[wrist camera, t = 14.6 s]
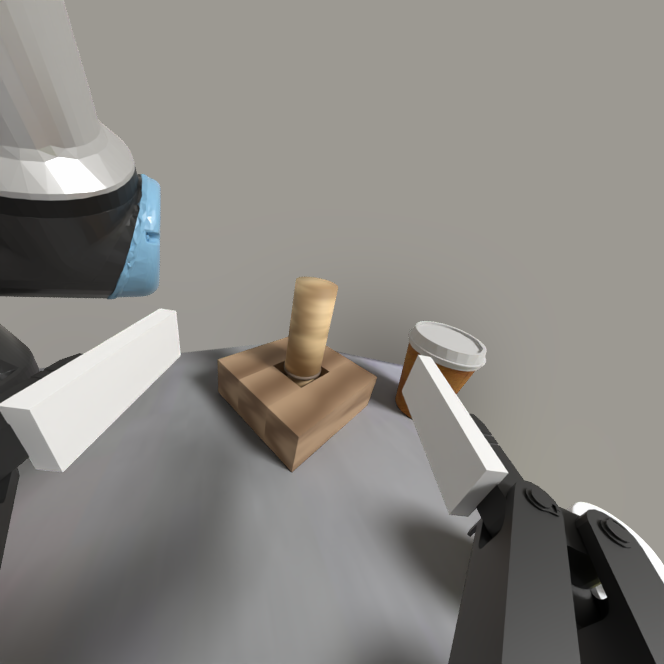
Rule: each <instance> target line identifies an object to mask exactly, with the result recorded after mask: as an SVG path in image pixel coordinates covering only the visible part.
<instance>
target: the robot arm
mask: <svg viewBox="0 0 664 664" xmlns="http://www.w3.org/2000/svg"><path fill="white" fill-rule="evenodd" d="M159 272H160V185H159V183H158V182H157V181H155V180H154V179H152V178H149V177H148V176H146V175H144V174H137V173H136V168H135V163H134V160H133V157H132V154H131V152H130V150H129V148H128V147H127V145H126V144H125V143H124V142H123V141H122V140H121V139H120V138H119V137H118V136H117V135H116V134H115V133H113V132H112V131H111V130H110V129H108V128H107V127H106V126H105V125H103V124H102V123H101V122H100V121H99V120H98V117H97V113H96V110H95V106H94V103H93V99H92V96H91V93H90V89H89V86H88V82H87V79H86V76H85V72H84V68H83V65H82V62H81V58H80V55H79V51H78V48H77V44H76V41H75V37H74V34H73V30H72V27H71V23H70V20H69V17H68V13H67V9H66V6H65V3H64V0H0V296H14V297H64V298H67V297H68V298H107V299H115V298H117V297H139V296H147V295H150V294H152V293H153V292H155V291H156V290H157V288H158V286H159ZM180 356H181V352H180V343H179V333H178V324H177V315H176V311H172V310H166V309H159V310H157V311H155V312H153V313H152V314H150V315H148V316H147V317H145V318H143V319H142V320H140V321H138V322H137V323H135V324H133V325H132V326H130V327H128V328H126V329H125V330H123V331H121V332H120V333H118V334H116V335H115V336H113V337H111V338H110V339H108V340H106V341H105V342H103V343H101V344H99V345H98V346H96V347H95V348H93V349H91V350H89V351H88V352H86V353H84V354H80V353H79V354H76V355H73V356H70V357H67V358H65V359H62V360H59V361H58V362H56V363H54V364H52V365H51V366H49V367H47V368H45V369H44V371H40V372H39V368H38V365H37V363H36V361H35V359H34V356H33V354H32V352H31V351H30V349H29V348H28V347H27V346H26V345H25V344H23V343H22V342H21V341H20V340H19V339H17V338H16V337H15V336H14V335H13V334H12V333H10V332H9V331H8V330H7V329H6V328H4V327H3V326H2V325H1V324H0V568H1V563H2V558H3V553H4V548H5V543H6V539H7V534H8V529H9V524H10V519H11V514H12V509H13V504H14V499H15V494H16V490H17V485H18V480H19V471H18V469H17V467H18V466H19V465H20V464H21V463H23V462H24V461H25V460H26V459H27V458H29V459H30V461H31V462H32V464H33V466H34V467H35V469H36V470H46V471H55V472H63V471H64V470H65V469H67V468H68V467H69V466H70V465H71V464H72V463H73V462H74V461H75V460H76V459H77V458H78V457H79V456H80V455H81V454H82V453H83V452H84V451H85V450H86V449H87V448H88V447H89V446H90V445H91V444H92V443H93V442H94V441H95V440H96V439H97V438H98V437H99V436H100V435H101V434H102V433H103V432H104V431H105V430H106V429H107V428H108V427H109V426H110V425H111V424H112V423H113V422H114V421H115V420H116V419H117V418H118V417H119V416H120V415H121V414H122V413H123V412H124V411H125V410H126V409H127V408H128V407H129V406H130V405H131V404H132V403H133V402H134V401H135V400H136V399H137V398H138V397H139V396H140V395H141V394H142V393H143V392H144V391H145V390H146V389H147V388H148V387H149V386H150V385H151V384H153V383H154V382H155V381H156V380H157V379H158V378H159V377H160V376H161V375H162V374H163V373H164V372H165V371H166V370H167V369H168V368H169V367H170V366H171V365H172V364H173V363H174V362H175V361H176V360H177V359H178V358H179V357H180ZM402 393H403V396H404V399H405V401H406V404H407V406H408V409H409V412H410V414H411V417H412V419H413V422H414V424H415V427H416V430H417V432H418V435H419V437H420V440H421V443H422V445H423V448H424V450H425V453H426V456H427V458H428V461H429V463H430V466H431V468H432V471H433V474H434V476H435V479H436V481H437V484H438V487H439V489H440V492H441V494H442V497H443V500H444V502H445V505H446V507H447V510H448V513H449V515H457V516H467V517H468V516H469V515H470V514H471V513H472V512H473V511H474V510H475V509H476V508H477V510H478V512H479V514H480V516H481V519H480V520H479V521H478V522H477V523H476V524H475V525H474V526H473V527H472V528H471V529H470V530H469V532H468V535H469V536H470V537H471V536H472V535H473V534H474V533H475V537H474V542H473V547H472V552H471V556H470V561H469V566H468V571H467V576H466V581H465V585H464V590H463V595H462V600H461V605H460V610H459V615H458V619H457V624H456V629H455V634H454V639H453V644H452V649H451V653H450V658H449V663H448V664H664V583H663V581H662V579H661V578H660V576H659V574H658V573H657V571H656V569H655V568H654V566H653V564H652V563H651V561H650V560H649V558H648V556H647V555H646V553H645V551H644V550H643V548H642V547H641V545H640V544H639V543H638V541H637V540H636V539H635V537H634V536H633V535H632V534H631V533H630V532H629V531H628V530H627V529H626V528H625V527H624V526H623V525H621V524H620V523H619V522H618V521H616V520H615V519H613V518H612V517H610V516H608V515H607V514H605V513H603V512H601V511H598V510H595V509H589V510H587V511H586V512H585V513H583V514H582V515H581V516H579V515H577V514H575V513H572V512H570V511H568V510H565V509H563V508H561V507H558V505H557V504H556V502H555V501H554V500H553V499H552V498H551V497H550V496H549V495H548V494H547V493H546V492H545V491H543V490H542V489H541V488H539V487H538V486H536V485H535V484H533V483H531V482H528V481H524V480H523V478H522V477H521V476H520V474H519V473H518V471H517V470H516V469H515V467H514V465H513V464H512V463H511V461H510V460H509V459H508V457H507V456H506V454H505V453H504V451H503V450H502V449H501V447H500V446H498V443H497V442H496V440H495V439H494V437H492V436H491V435H492V434H491V433H490V432H489V430H488V429H487V427H486V426H485V425H484V424H483V423H482V422H481V421H480V420H479V419H478V418H477V417H476V416H475V415H474V414H469V413H468V412H467V410H466V409H465V407H464V406H463V404H462V403H461V401H460V400H459V398H458V397H457V395H456V394H455V392H454V391H453V389H452V388H451V386H450V385H449V383H448V382H447V380H446V379H445V377H444V376H443V374H442V373H441V371H440V370H439V368H438V367H437V365H436V364H435V362H434V361H433V359H432V358H431V357H428V356H423V355H418V356H417V359H416V361H415V363H414V365H413V367H412V370H411V372H410V374H409V376H408V378H407V381H406V383H405V385H404V387H403V389H402ZM600 584H602V587H603V589H604V591H605V594H606V596H607V598H605V599H601V598H600V596H599V594H598V592H597V589H596V586H598V585H600Z"/></svg>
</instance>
